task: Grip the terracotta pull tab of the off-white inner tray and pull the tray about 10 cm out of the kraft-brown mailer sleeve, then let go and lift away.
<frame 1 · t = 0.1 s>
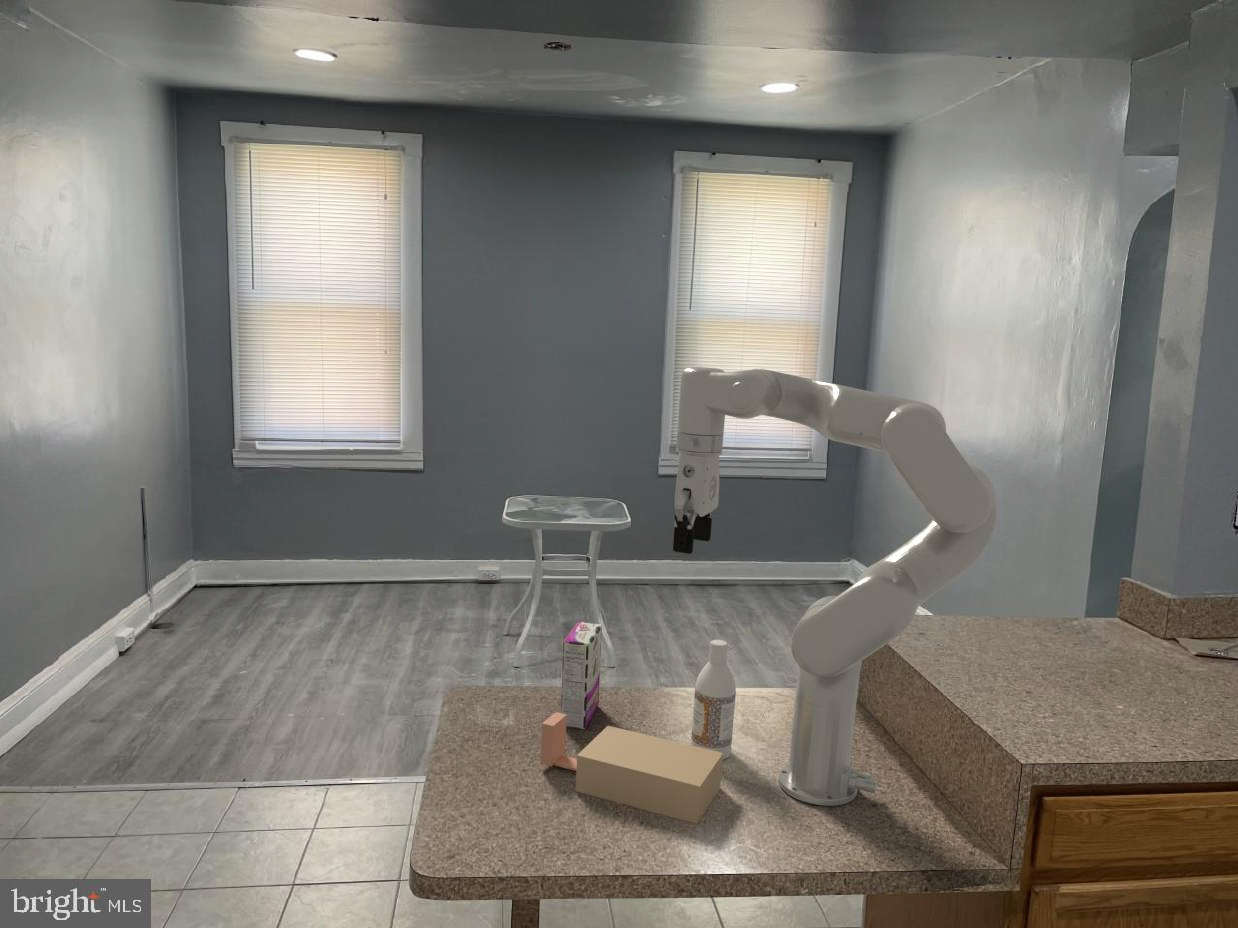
hand: (692, 545, 154), 37 cm above the worktop, tool pointing down, fingers open, 9 cm apart
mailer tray: (624, 757, 148), point 4 cm above the worktop, slide at 0.0 cm
mailer sleeve: (648, 789, 147), on the worktop
candy bar box: (579, 717, 172), on the worktop
bath foam: (710, 753, 161), on the worktop
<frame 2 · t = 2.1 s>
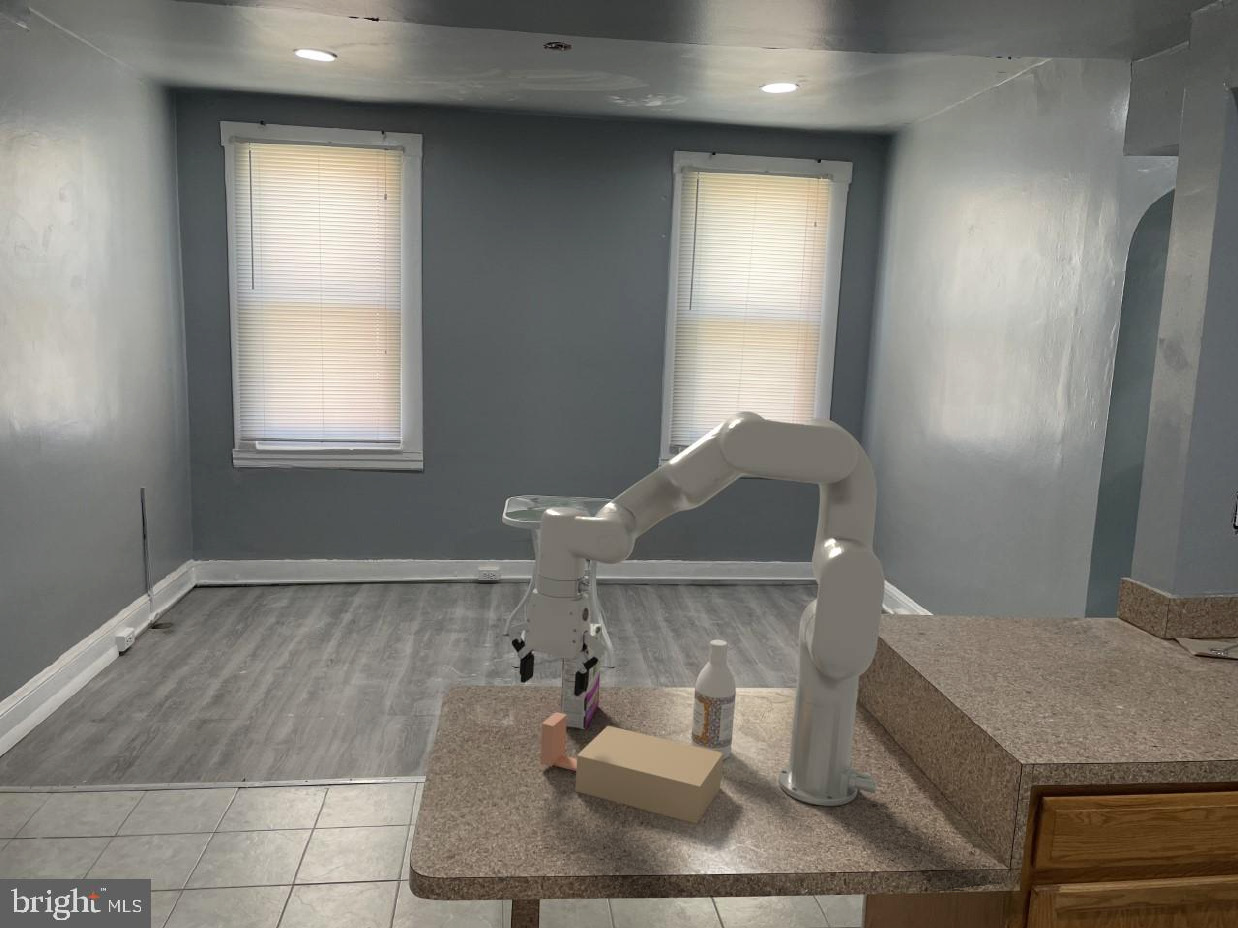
hand: (553, 686, 151), 14 cm above the worktop, tool pointing down, fingers open, 9 cm apart
nothing on the worktop moved.
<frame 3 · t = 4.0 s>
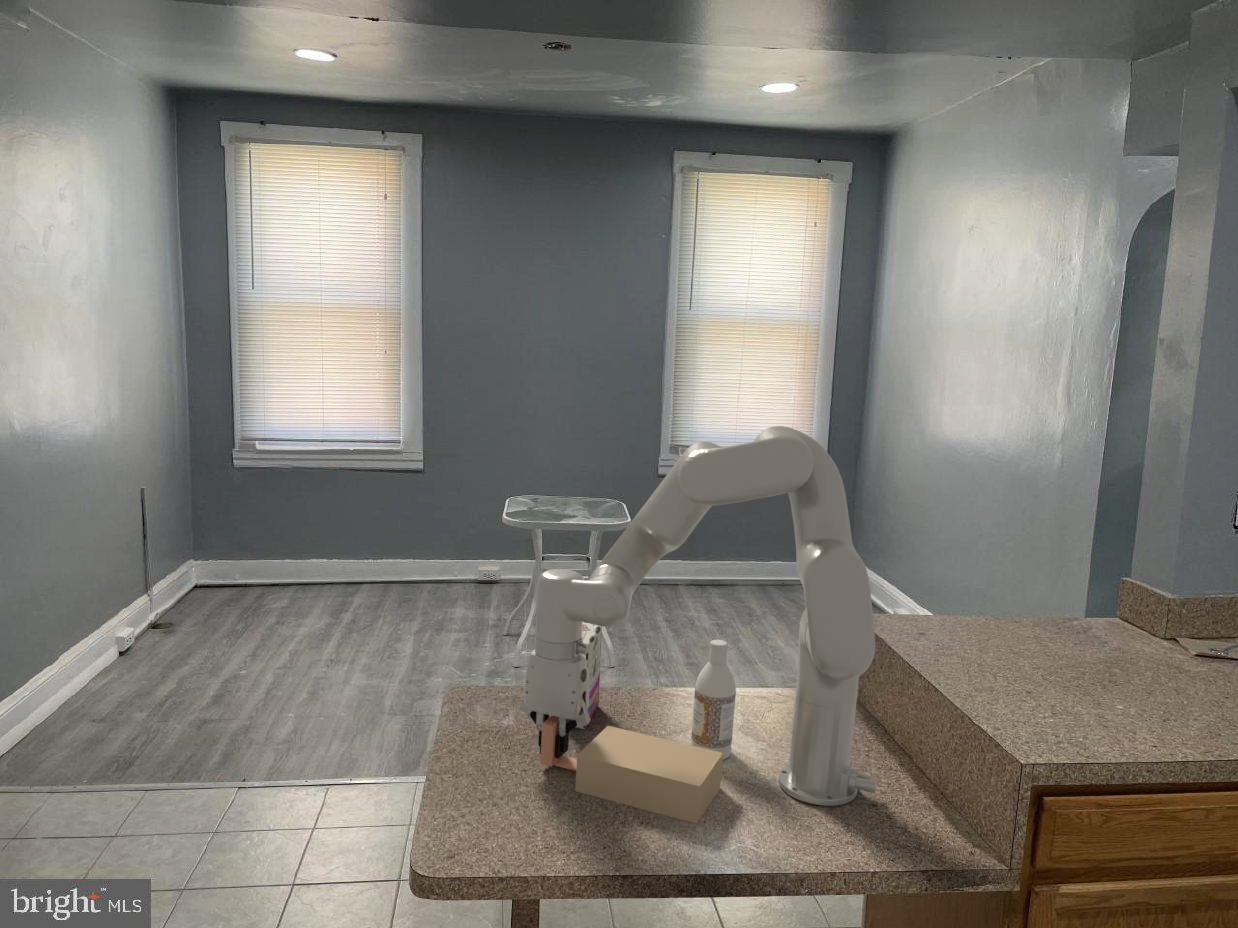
hand: (553, 752, 153), 2 cm above the worktop, tool pointing down, fingers closed on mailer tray, 2 cm apart
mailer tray: (624, 757, 148), point 4 cm above the worktop, slide at 0.0 cm, touching gripper
everything else where it was.
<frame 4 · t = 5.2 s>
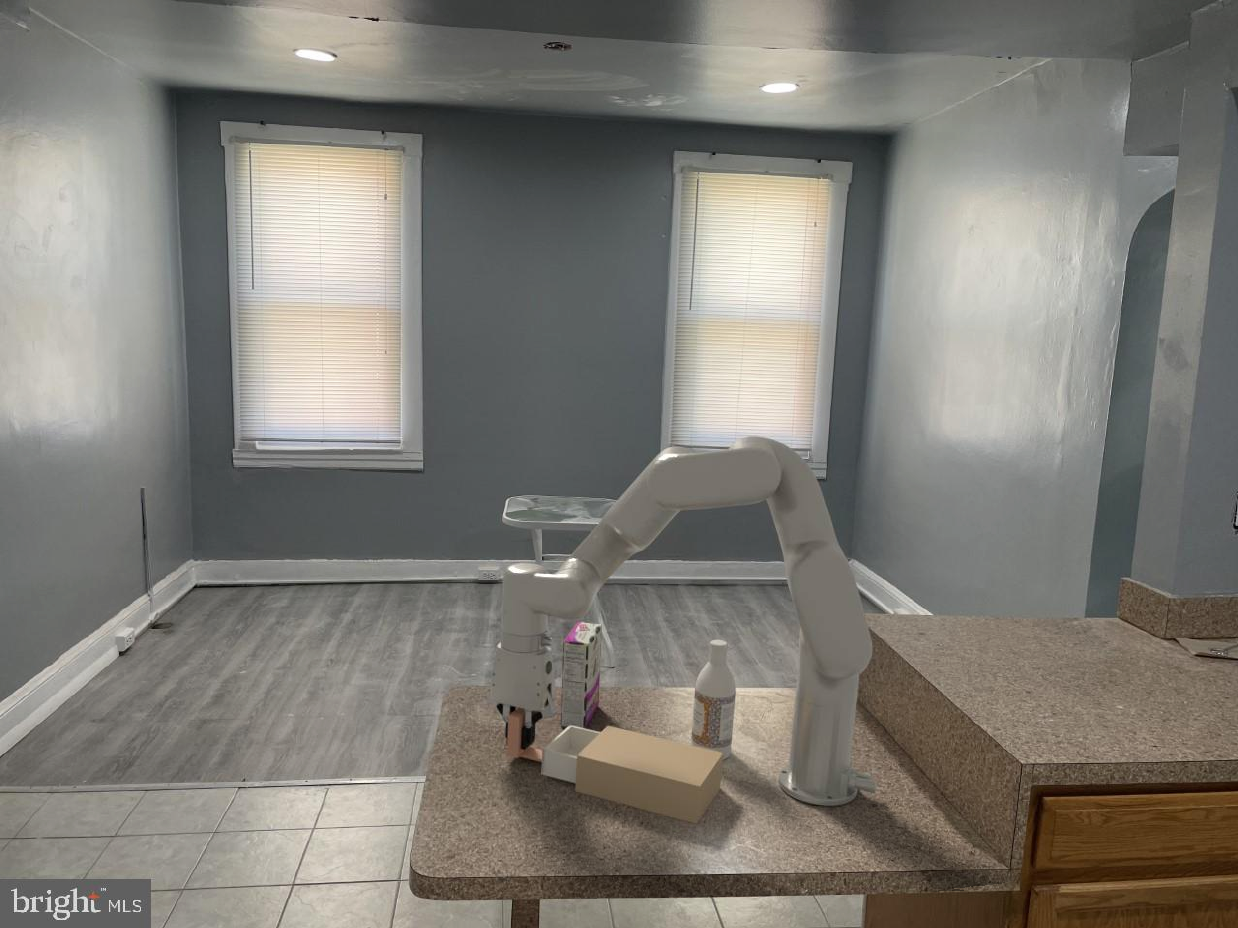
hand: (519, 743, 155), 2 cm above the worktop, tool pointing down, fingers closed on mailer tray, 2 cm apart
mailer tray: (589, 748, 150), point 4 cm above the worktop, slide at 6.2 cm, touching gripper
everything else where it was.
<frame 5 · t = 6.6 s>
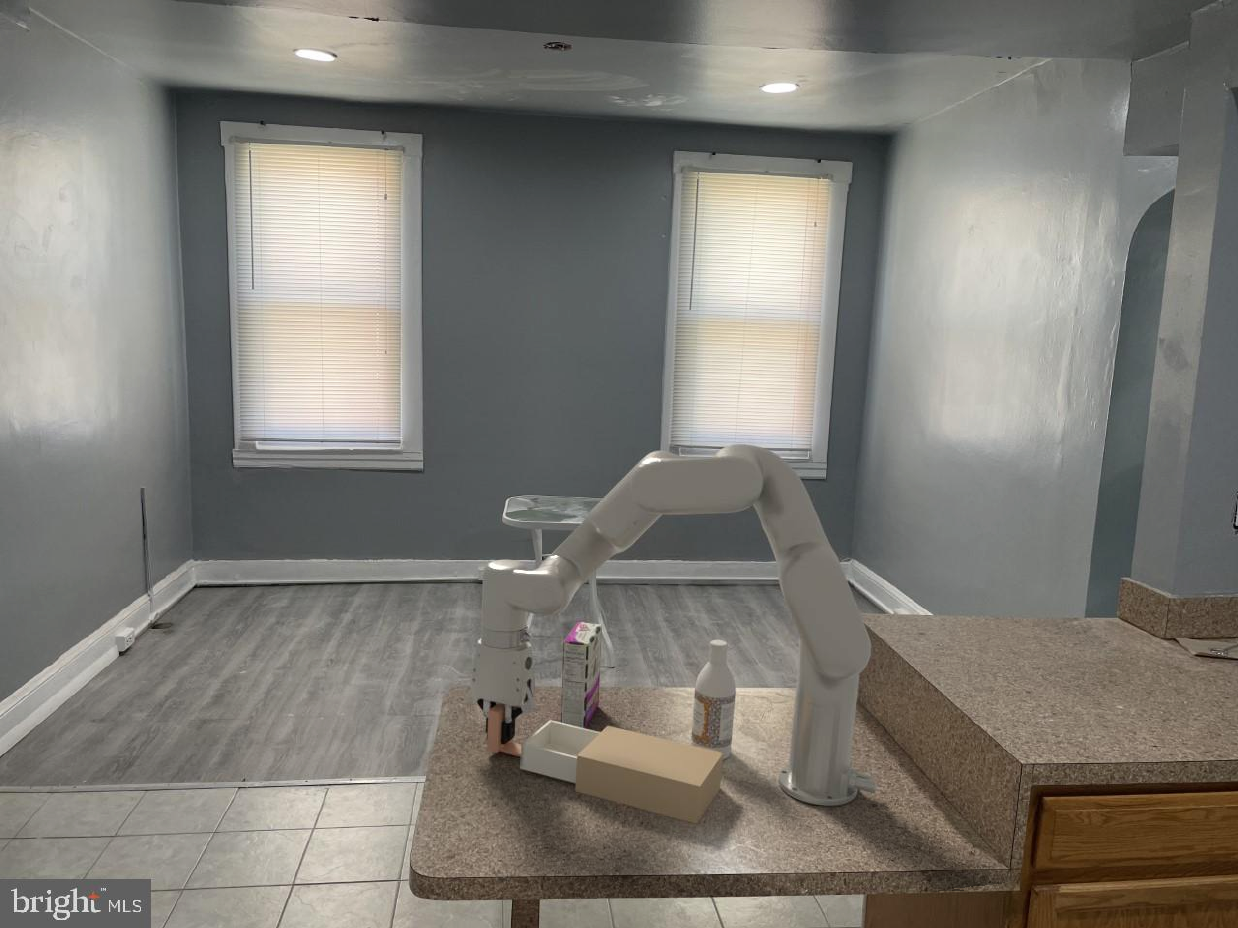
hand: (500, 738, 157), 2 cm above the worktop, tool pointing down, fingers closed on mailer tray, 2 cm apart
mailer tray: (568, 742, 152), point 4 cm above the worktop, slide at 10.0 cm, touching gripper
everything else where it was.
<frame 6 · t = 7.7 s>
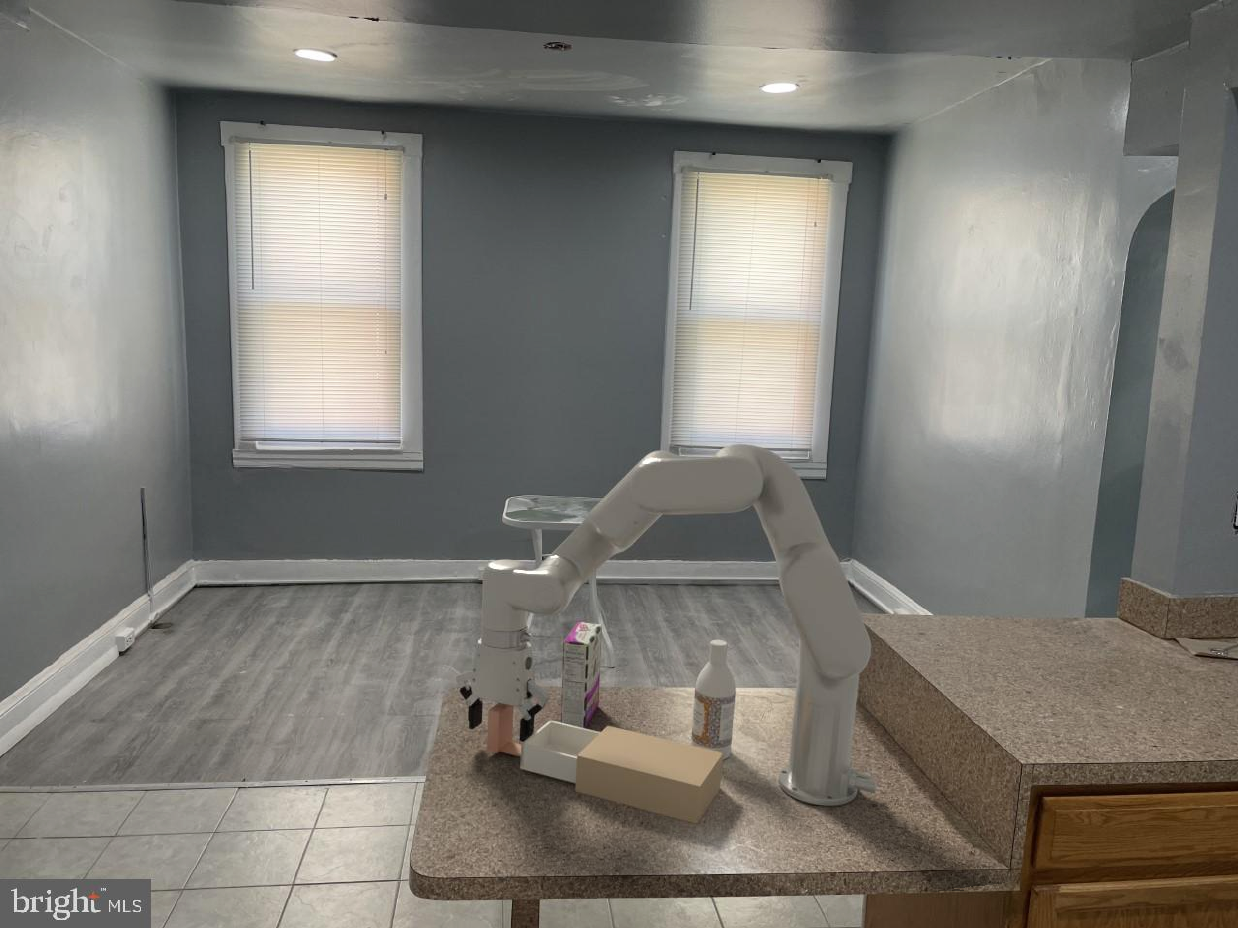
hand: (500, 732, 157), 3 cm above the worktop, tool pointing down, fingers open, 9 cm apart
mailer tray: (567, 742, 152), point 4 cm above the worktop, slide at 10.0 cm
everything else where it was.
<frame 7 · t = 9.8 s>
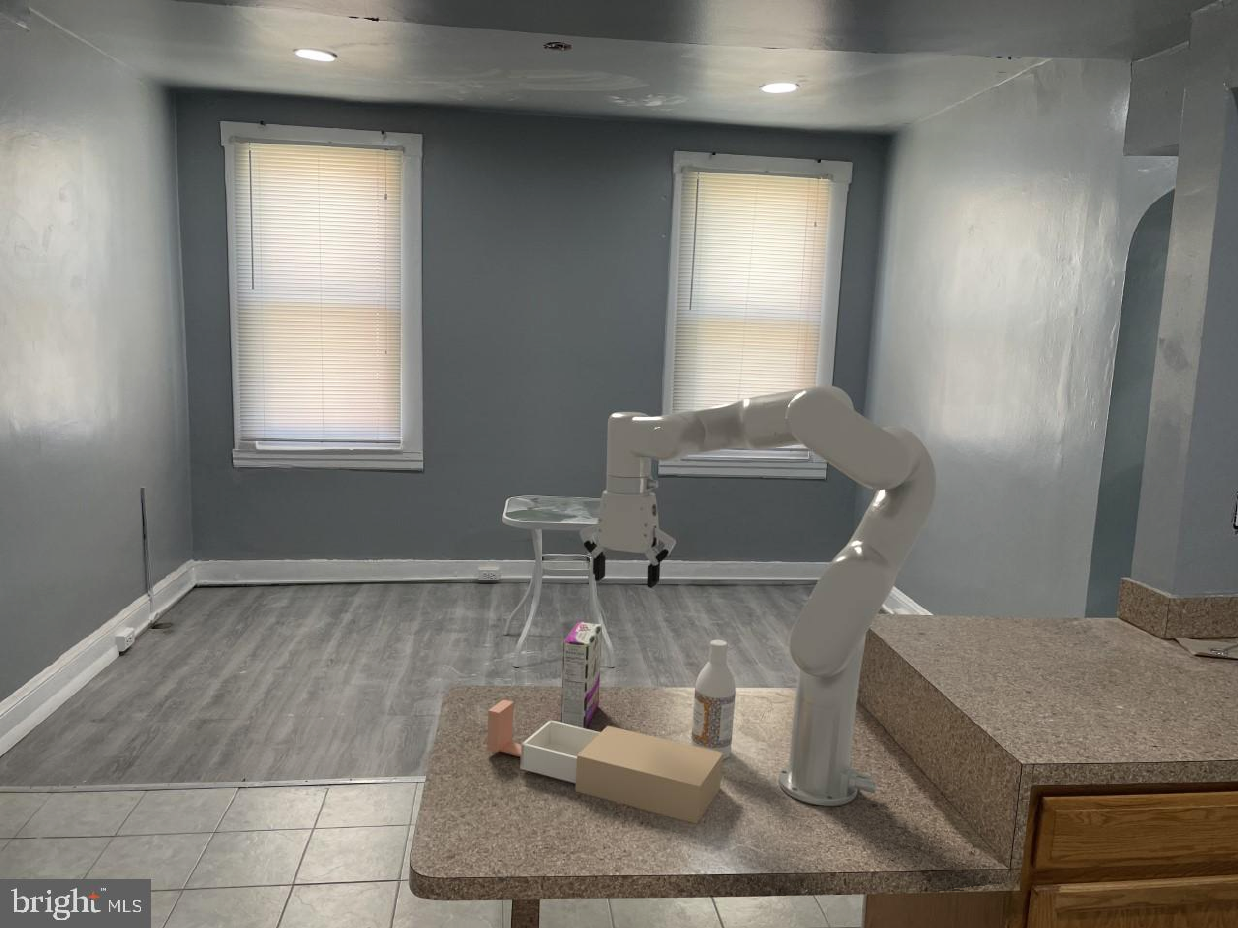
hand: (625, 582, 161), 28 cm above the worktop, tool pointing down, fingers open, 9 cm apart
nothing on the worktop moved.
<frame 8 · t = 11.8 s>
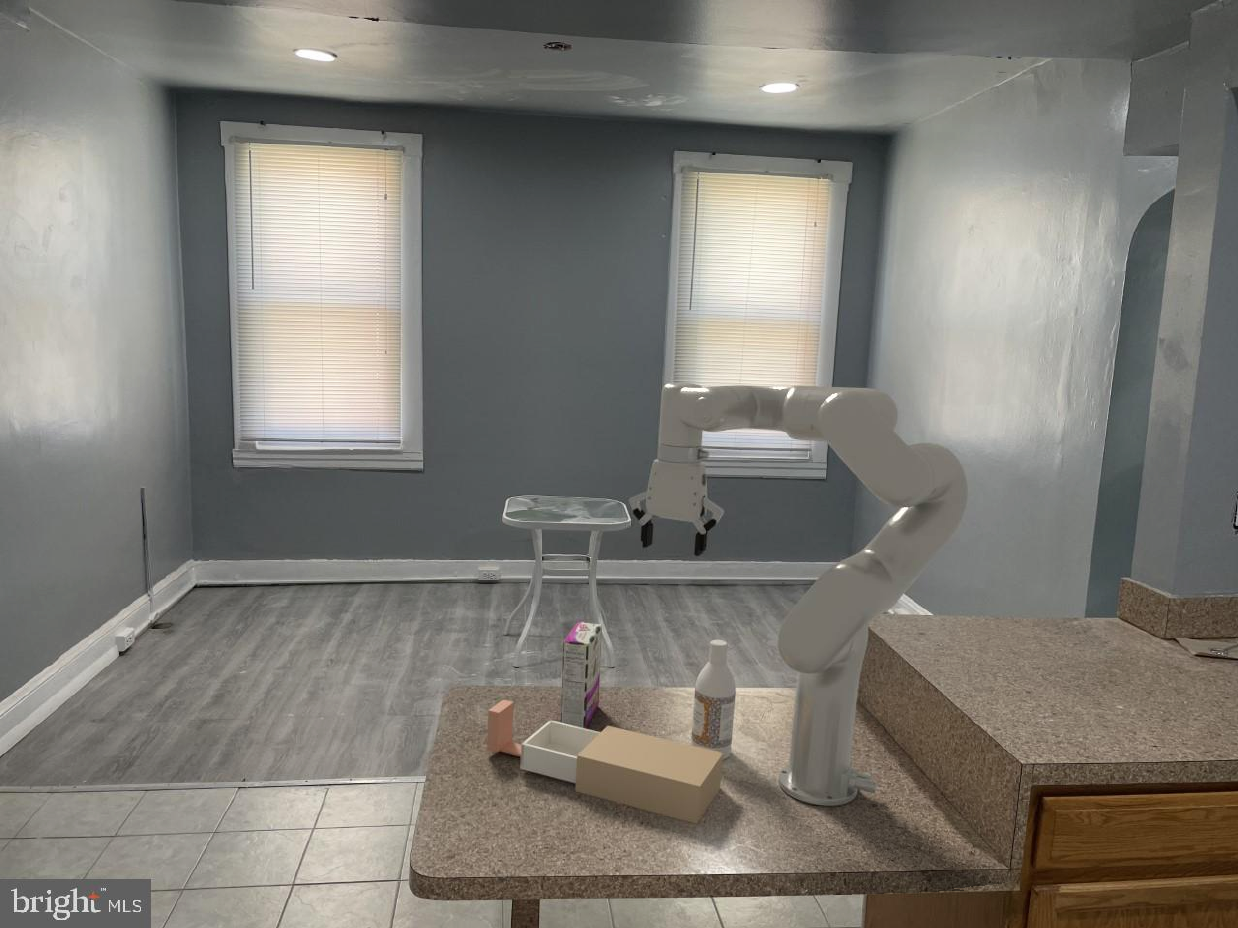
hand: (672, 550, 164), 33 cm above the worktop, tool pointing down, fingers open, 9 cm apart
nothing on the worktop moved.
at the end: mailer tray slide at 10.0 cm; the gripper is holding nothing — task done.
